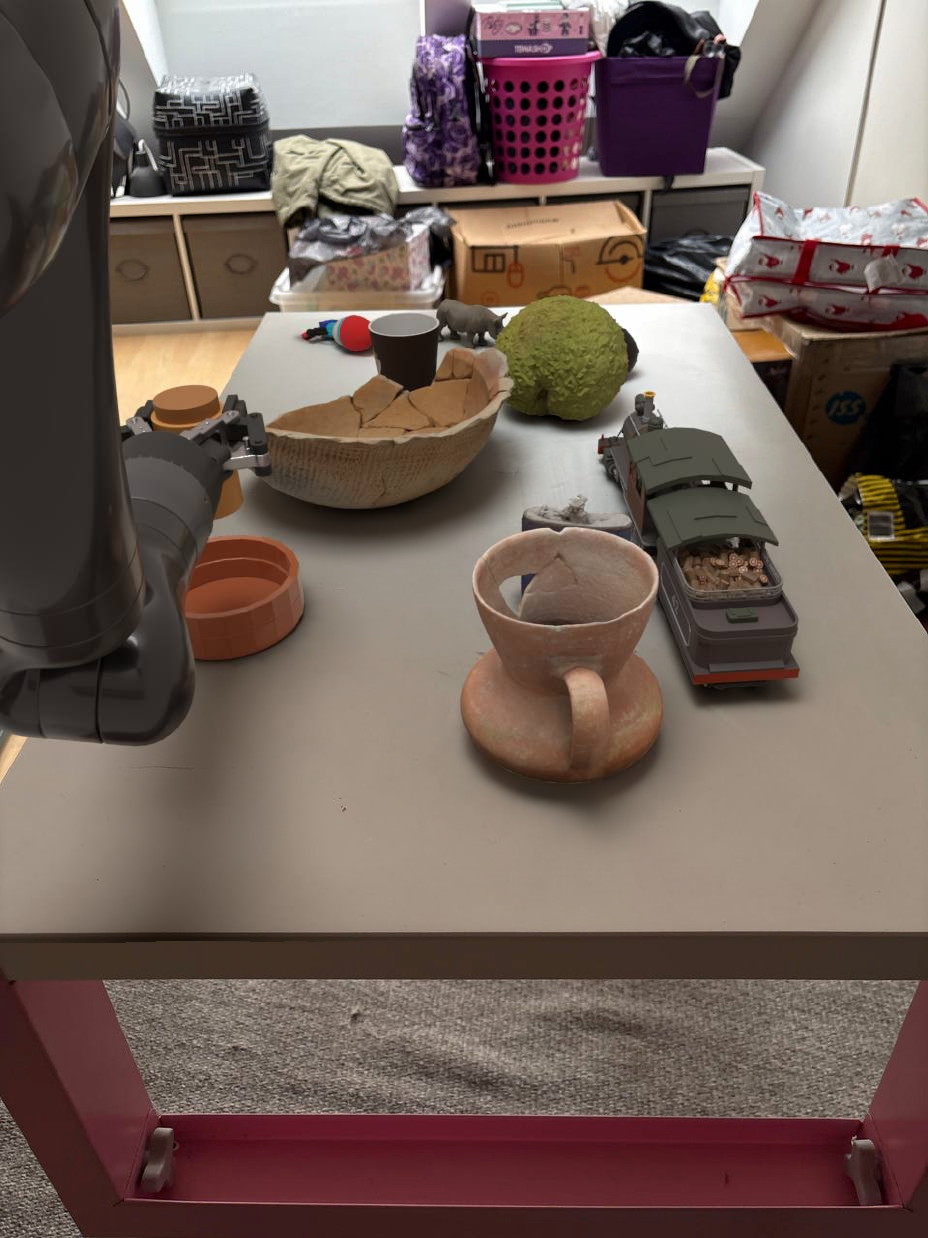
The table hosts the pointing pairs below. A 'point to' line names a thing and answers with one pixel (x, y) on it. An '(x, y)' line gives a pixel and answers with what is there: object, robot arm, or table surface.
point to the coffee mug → (406, 348)
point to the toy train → (704, 549)
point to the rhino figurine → (468, 321)
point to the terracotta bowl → (242, 596)
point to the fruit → (564, 358)
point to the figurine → (630, 349)
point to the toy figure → (345, 332)
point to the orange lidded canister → (184, 413)
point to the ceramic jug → (564, 657)
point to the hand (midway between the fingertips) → (195, 408)
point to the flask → (573, 523)
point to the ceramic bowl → (390, 435)
